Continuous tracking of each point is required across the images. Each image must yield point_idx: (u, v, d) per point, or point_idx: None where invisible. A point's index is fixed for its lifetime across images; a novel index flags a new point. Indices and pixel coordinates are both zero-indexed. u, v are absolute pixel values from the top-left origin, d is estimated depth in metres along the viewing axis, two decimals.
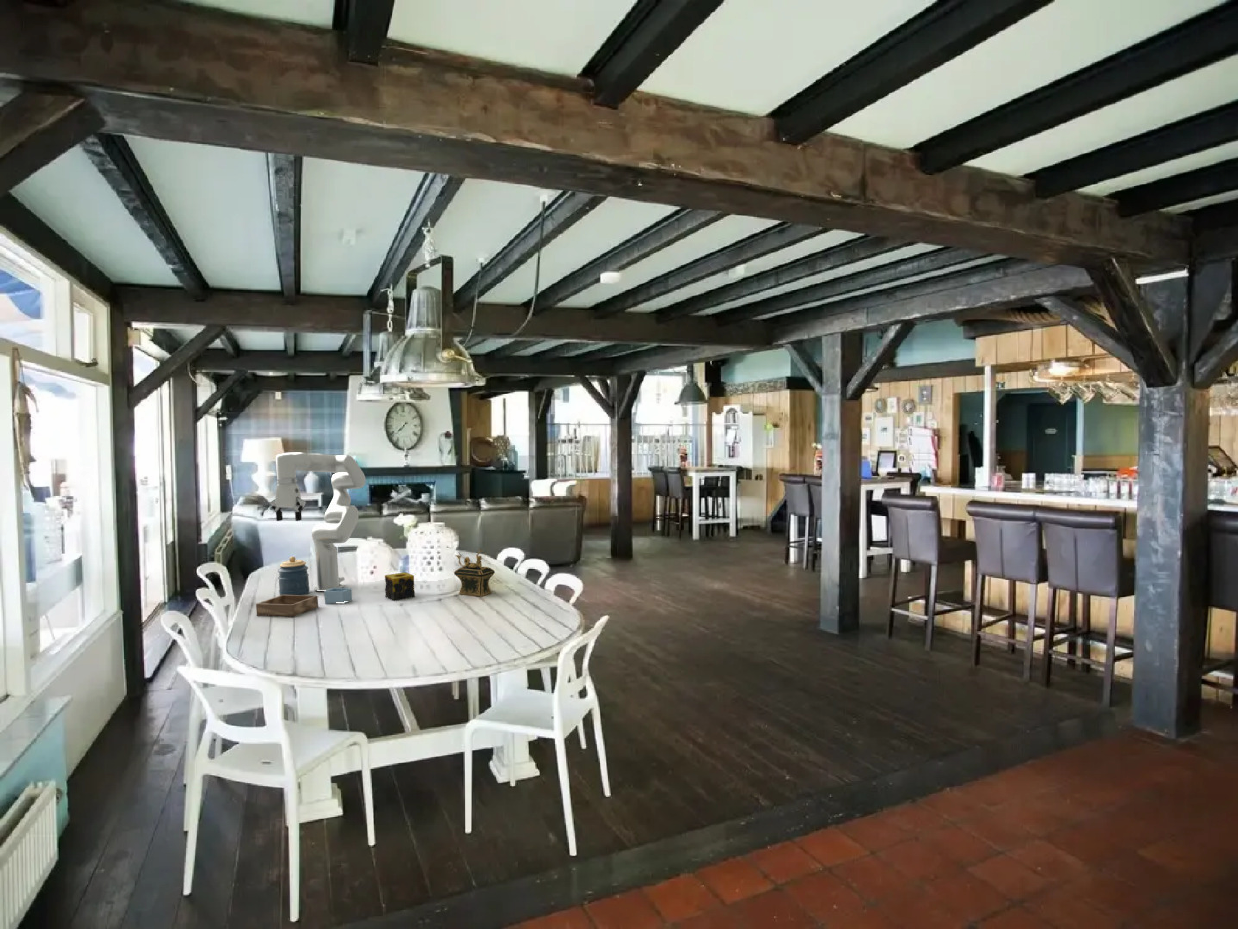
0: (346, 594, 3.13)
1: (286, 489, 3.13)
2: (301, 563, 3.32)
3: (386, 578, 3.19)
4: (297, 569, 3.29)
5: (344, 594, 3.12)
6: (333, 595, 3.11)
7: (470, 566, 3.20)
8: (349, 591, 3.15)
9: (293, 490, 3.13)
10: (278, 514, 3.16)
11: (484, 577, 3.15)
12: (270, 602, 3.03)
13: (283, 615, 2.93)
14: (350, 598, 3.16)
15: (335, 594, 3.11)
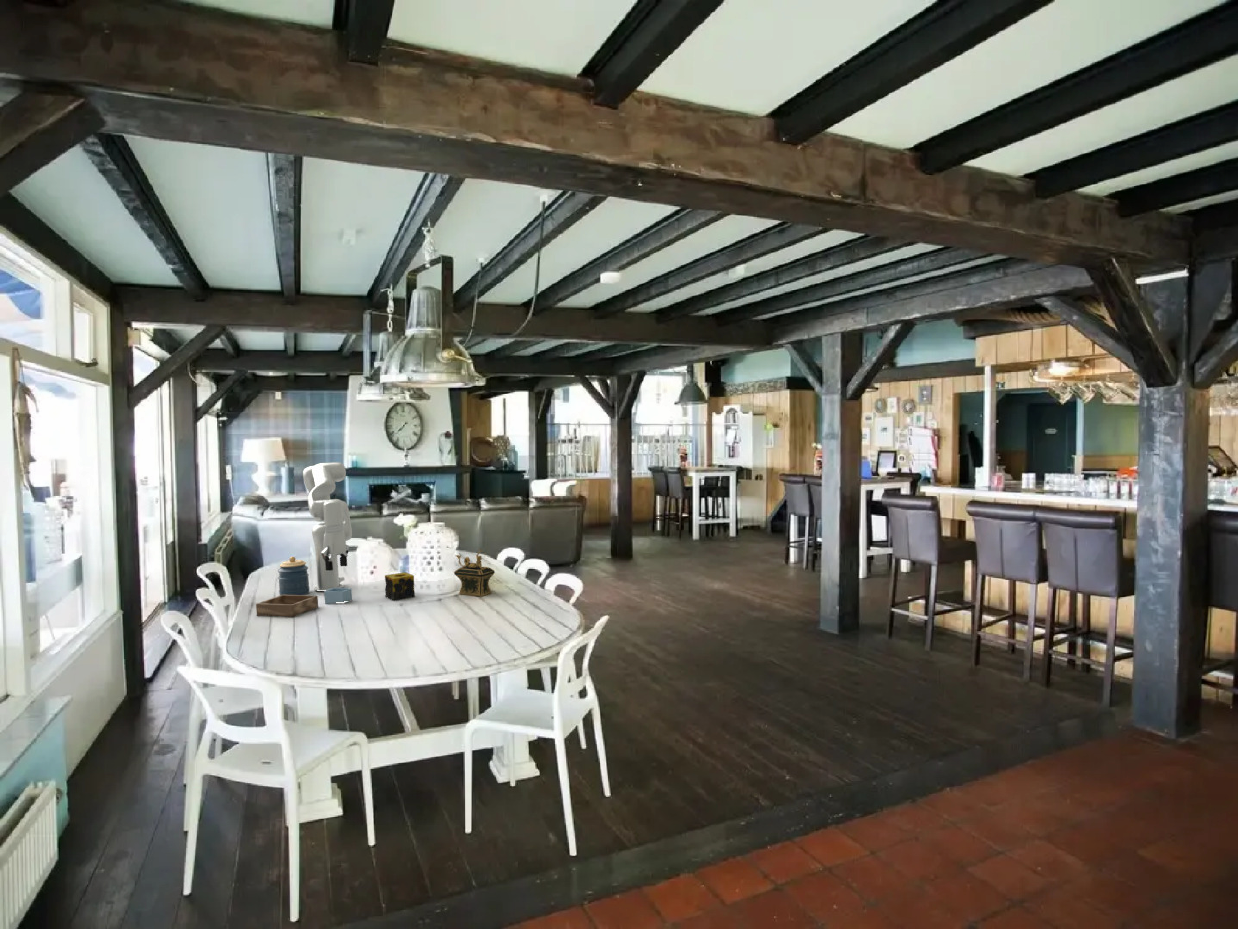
0: (346, 594, 3.13)
1: (341, 536, 3.14)
2: (301, 563, 3.32)
3: (386, 578, 3.19)
4: (297, 569, 3.29)
5: (344, 594, 3.12)
6: (333, 595, 3.11)
7: (470, 566, 3.20)
8: (349, 591, 3.15)
9: None
10: None
11: (484, 577, 3.15)
12: (270, 602, 3.03)
13: (283, 615, 2.93)
14: (350, 598, 3.16)
15: (335, 594, 3.11)
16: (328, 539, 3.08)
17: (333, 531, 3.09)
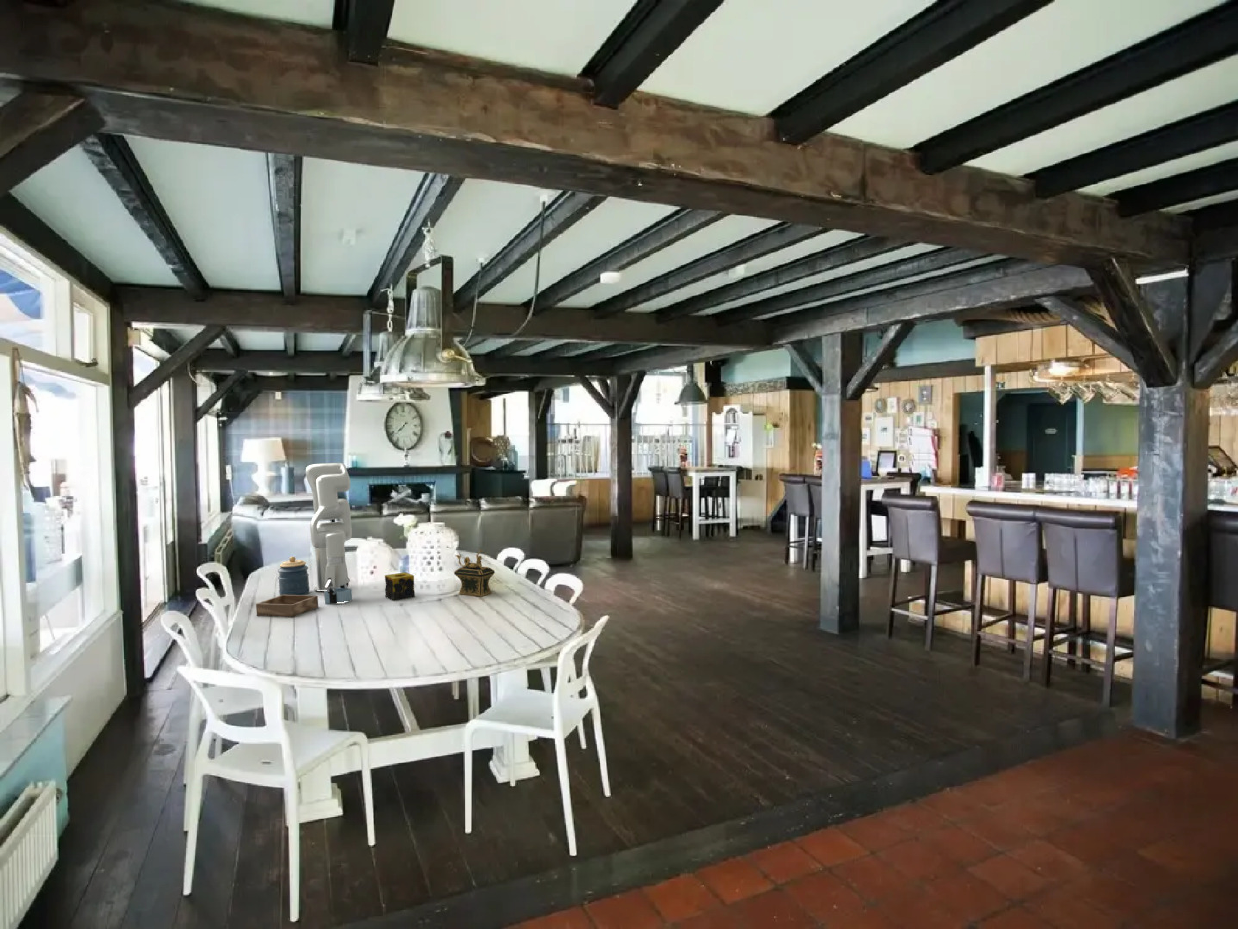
0: (346, 594, 3.13)
1: (343, 567, 3.15)
2: (301, 563, 3.32)
3: (386, 578, 3.19)
4: (297, 569, 3.29)
5: (344, 594, 3.12)
6: None
7: (470, 566, 3.20)
8: (349, 591, 3.15)
9: None
10: None
11: (484, 577, 3.15)
12: (270, 602, 3.03)
13: (283, 615, 2.93)
14: (350, 598, 3.16)
15: None
16: (330, 571, 3.09)
17: (335, 563, 3.10)
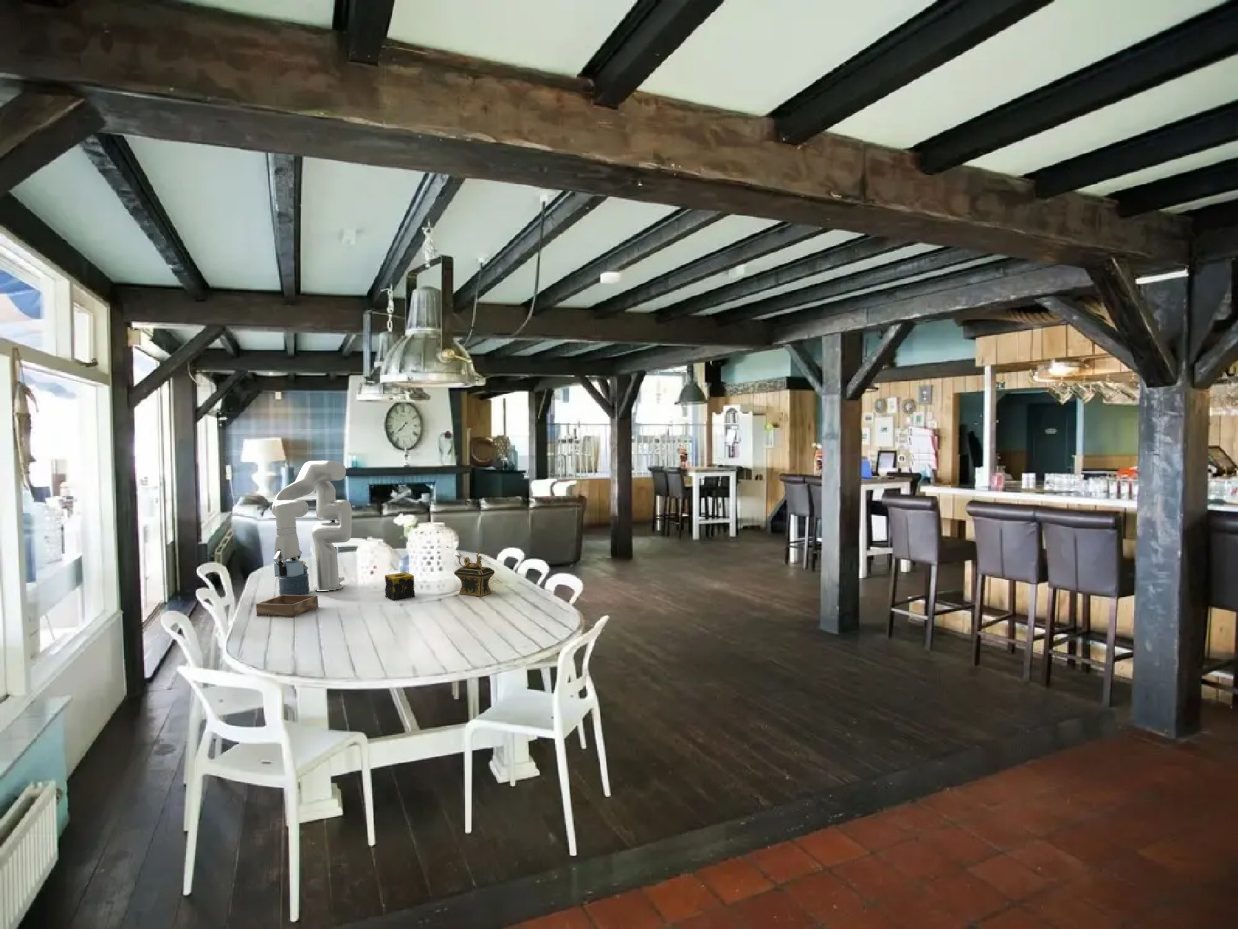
0: (297, 566, 3.00)
1: (294, 538, 3.02)
2: None
3: (386, 578, 3.19)
4: None
5: (295, 567, 2.98)
6: None
7: (470, 566, 3.20)
8: (300, 563, 3.02)
9: None
10: None
11: (484, 577, 3.15)
12: (270, 602, 3.03)
13: (283, 615, 2.93)
14: (302, 571, 3.02)
15: None
16: (280, 542, 2.96)
17: (285, 534, 2.97)
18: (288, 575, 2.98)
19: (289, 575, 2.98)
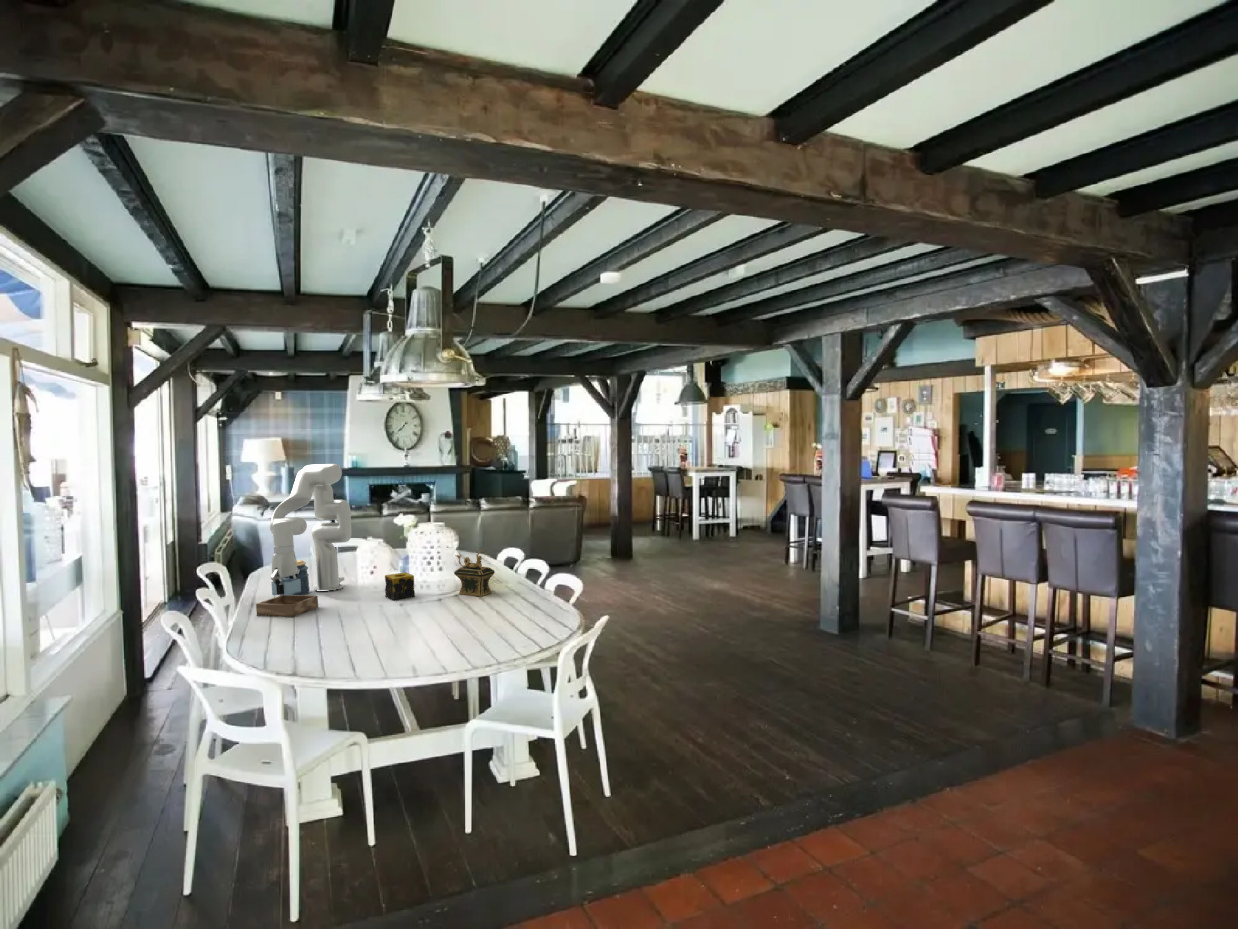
0: (294, 585, 2.99)
1: (292, 557, 3.01)
2: (301, 563, 3.32)
3: (386, 578, 3.19)
4: None
5: (292, 585, 2.98)
6: None
7: (470, 566, 3.20)
8: (298, 582, 3.01)
9: None
10: None
11: (484, 577, 3.15)
12: (270, 602, 3.03)
13: (283, 615, 2.93)
14: (299, 589, 3.02)
15: None
16: (277, 560, 2.96)
17: (282, 552, 2.96)
18: (285, 593, 2.97)
19: (286, 594, 2.97)
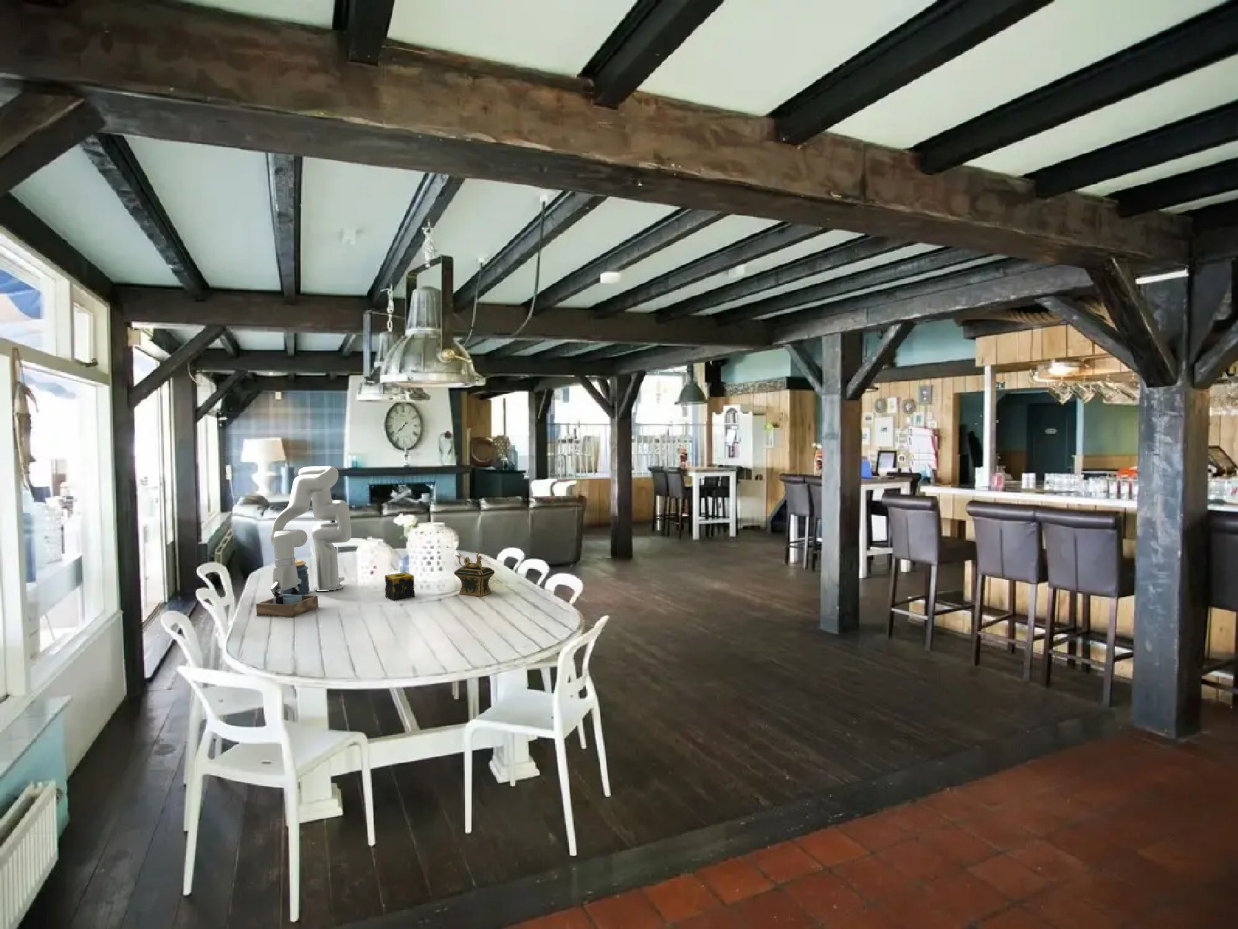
0: (296, 601, 3.00)
1: (293, 569, 3.01)
2: (301, 563, 3.32)
3: (386, 578, 3.19)
4: (297, 569, 3.29)
5: (293, 601, 2.98)
6: None
7: (470, 566, 3.20)
8: (299, 598, 3.02)
9: None
10: None
11: (484, 577, 3.15)
12: (270, 602, 3.03)
13: (283, 615, 2.93)
14: None
15: (284, 601, 2.98)
16: (278, 573, 2.96)
17: (283, 565, 2.97)
18: None
19: None
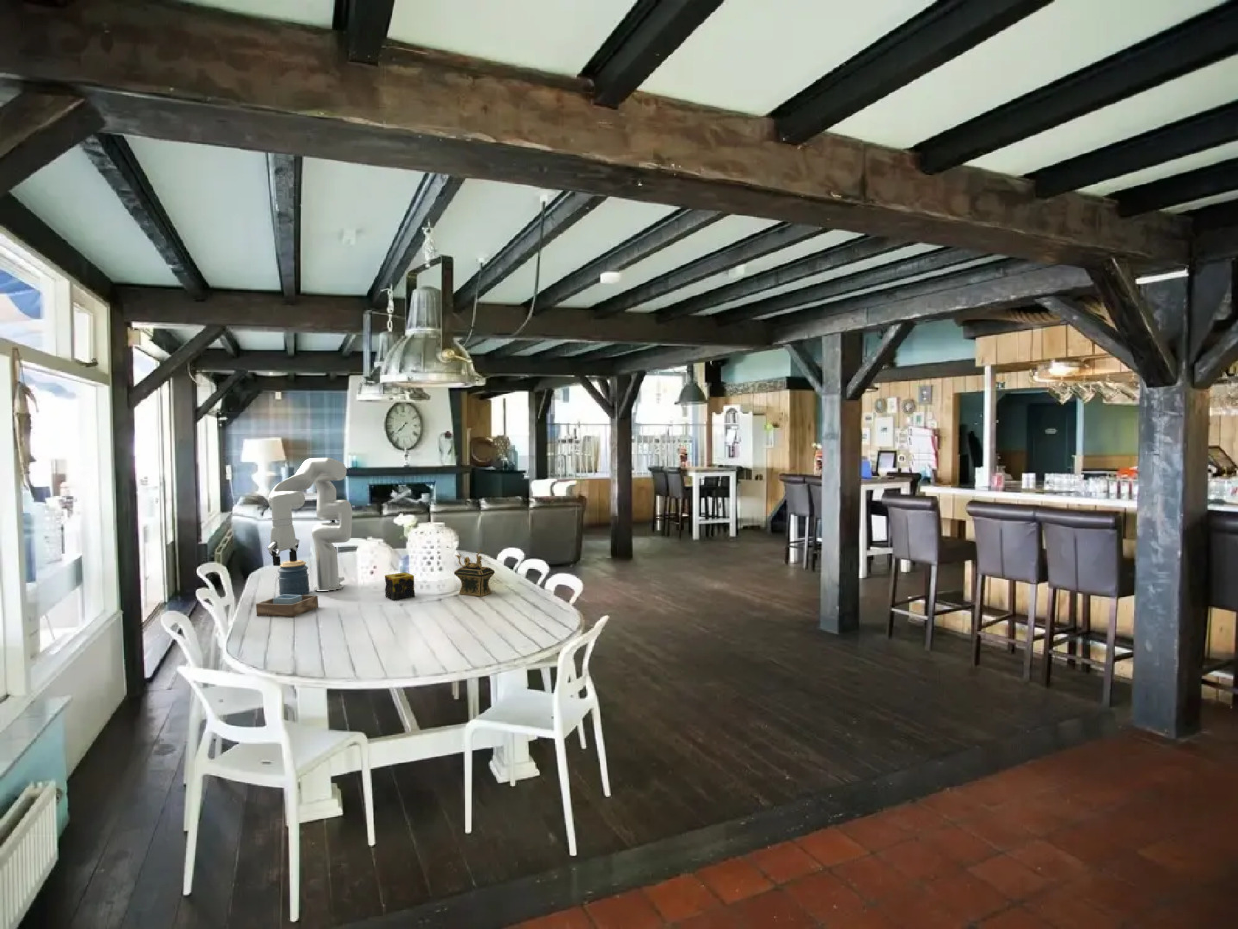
0: (296, 601, 3.00)
1: (290, 530, 3.01)
2: (301, 563, 3.32)
3: (386, 578, 3.19)
4: (297, 569, 3.29)
5: (293, 601, 2.98)
6: (282, 602, 2.98)
7: (470, 566, 3.20)
8: (299, 598, 3.02)
9: None
10: None
11: (484, 577, 3.15)
12: (270, 602, 3.03)
13: (283, 615, 2.93)
14: None
15: (284, 601, 2.98)
16: (275, 533, 2.95)
17: (281, 525, 2.96)
18: None
19: None
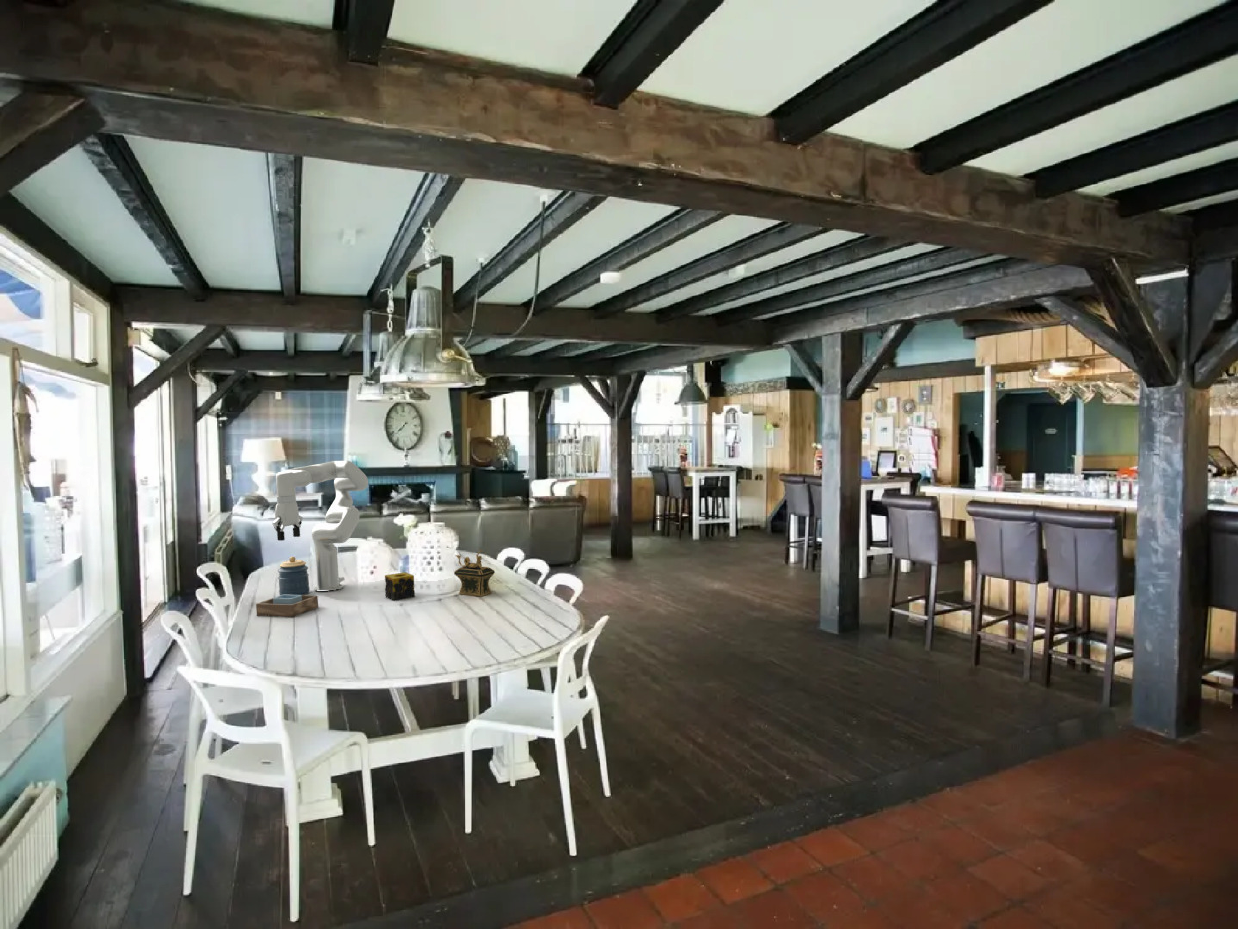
0: (296, 601, 3.00)
1: (294, 507, 3.17)
2: (301, 563, 3.31)
3: (386, 578, 3.19)
4: (297, 569, 3.29)
5: (293, 601, 2.98)
6: (282, 602, 2.98)
7: (470, 566, 3.20)
8: (299, 598, 3.02)
9: None
10: None
11: (484, 577, 3.15)
12: (270, 602, 3.03)
13: (283, 615, 2.93)
14: None
15: (284, 601, 2.98)
16: (280, 509, 3.12)
17: (285, 502, 3.13)
18: None
19: None
